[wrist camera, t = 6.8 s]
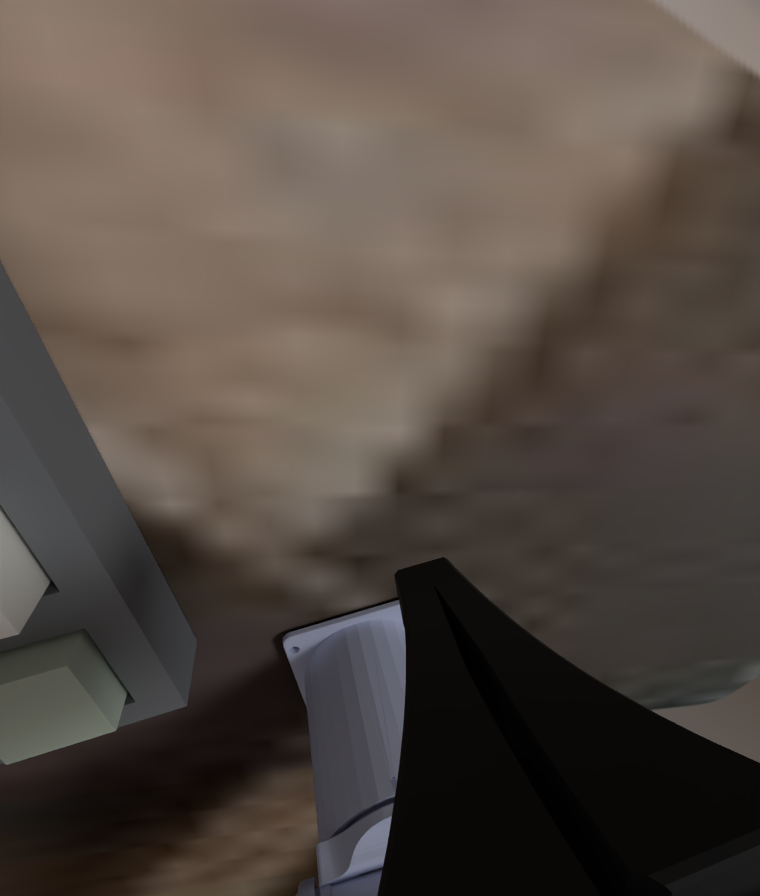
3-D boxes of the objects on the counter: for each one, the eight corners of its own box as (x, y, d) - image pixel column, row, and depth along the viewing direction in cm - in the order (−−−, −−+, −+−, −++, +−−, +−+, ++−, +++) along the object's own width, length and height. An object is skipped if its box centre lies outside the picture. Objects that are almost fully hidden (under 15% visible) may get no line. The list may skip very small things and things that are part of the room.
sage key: (138, 655, 20) (116, 730, 17) (46, 682, 20) (6, 764, 17) (99, 593, 18) (67, 665, 15) (-4, 621, 18) (-59, 702, 15)
